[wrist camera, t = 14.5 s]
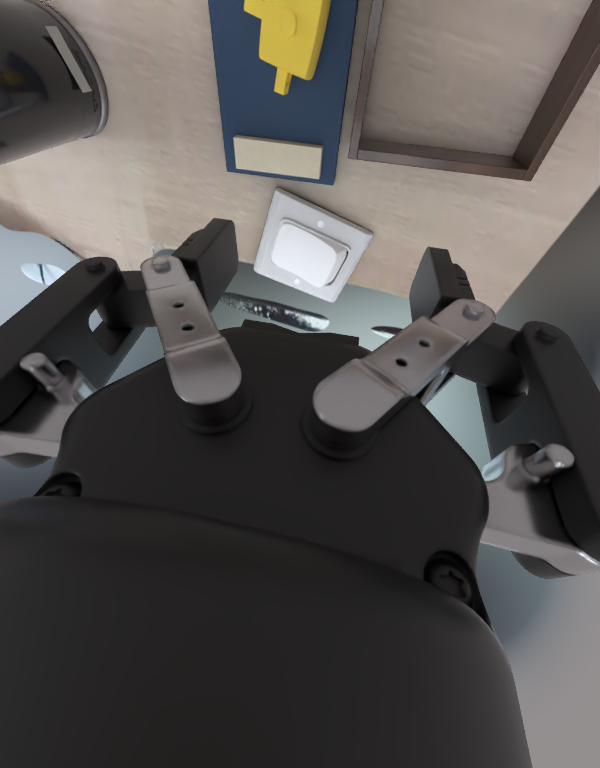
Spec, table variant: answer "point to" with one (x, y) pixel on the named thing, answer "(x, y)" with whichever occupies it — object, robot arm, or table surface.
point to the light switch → (309, 246)
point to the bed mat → (280, 97)
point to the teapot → (290, 36)
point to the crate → (587, 50)
